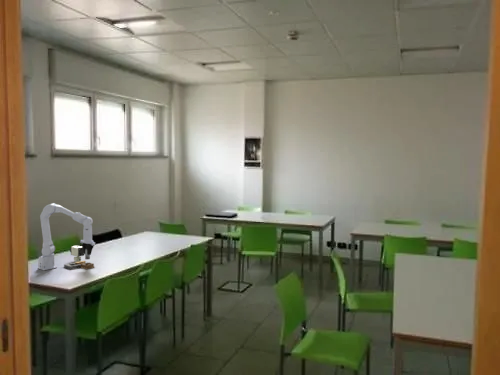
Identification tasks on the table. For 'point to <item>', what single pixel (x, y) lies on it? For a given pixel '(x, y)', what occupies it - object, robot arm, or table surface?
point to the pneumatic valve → (77, 252)
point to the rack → (87, 265)
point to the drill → (86, 255)
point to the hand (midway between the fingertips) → (87, 254)
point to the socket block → (72, 266)
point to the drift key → (80, 262)
